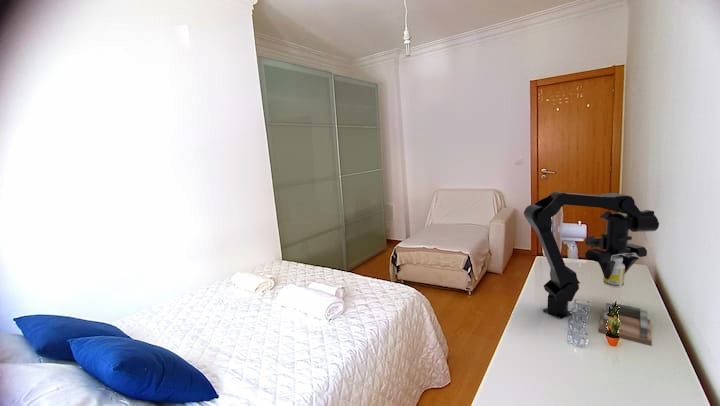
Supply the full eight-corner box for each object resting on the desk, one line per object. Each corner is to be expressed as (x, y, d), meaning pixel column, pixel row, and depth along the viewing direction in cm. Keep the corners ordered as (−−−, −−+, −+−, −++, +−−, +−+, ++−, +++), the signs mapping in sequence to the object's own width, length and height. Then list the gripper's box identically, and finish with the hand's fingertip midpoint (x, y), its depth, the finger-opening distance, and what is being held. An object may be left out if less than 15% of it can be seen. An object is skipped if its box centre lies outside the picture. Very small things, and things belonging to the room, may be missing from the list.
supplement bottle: (614, 280, 110) (616, 253, 108) (627, 287, 104) (630, 258, 103) (598, 282, 110) (600, 254, 108) (612, 288, 104) (614, 260, 103)
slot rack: (651, 345, 90) (652, 331, 90) (598, 332, 98) (599, 319, 97) (649, 323, 101) (650, 310, 100) (602, 312, 108) (602, 301, 108)
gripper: (616, 223, 114) (613, 265, 116) (571, 229, 110) (569, 272, 112) (650, 231, 103) (645, 277, 105) (602, 238, 99) (599, 285, 102)
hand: (613, 277), depth 107 cm, fingers closed on supplement bottle, 5 cm apart
